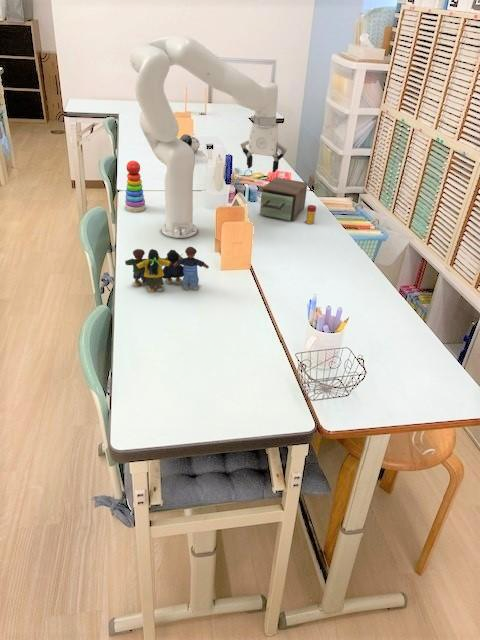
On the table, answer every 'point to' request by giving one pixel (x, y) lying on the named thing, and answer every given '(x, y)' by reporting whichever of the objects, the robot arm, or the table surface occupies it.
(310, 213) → the glue stick
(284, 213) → the drawer
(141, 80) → the robot arm
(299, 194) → the cabinet
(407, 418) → the table surface
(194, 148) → the paint bucket
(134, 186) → the stacking toy
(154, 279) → the doll family
